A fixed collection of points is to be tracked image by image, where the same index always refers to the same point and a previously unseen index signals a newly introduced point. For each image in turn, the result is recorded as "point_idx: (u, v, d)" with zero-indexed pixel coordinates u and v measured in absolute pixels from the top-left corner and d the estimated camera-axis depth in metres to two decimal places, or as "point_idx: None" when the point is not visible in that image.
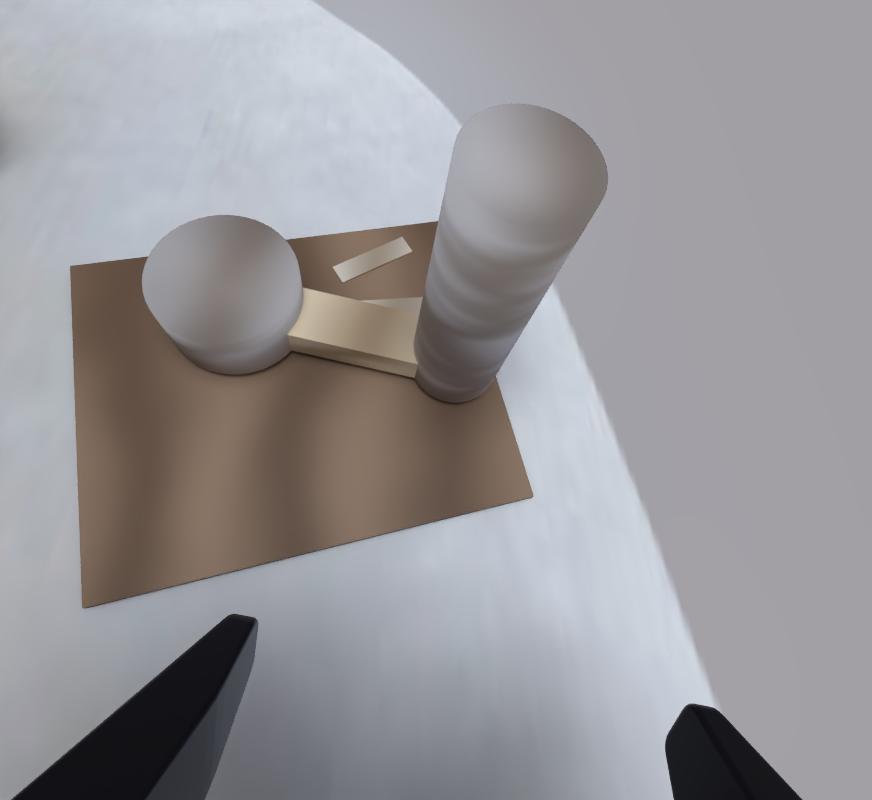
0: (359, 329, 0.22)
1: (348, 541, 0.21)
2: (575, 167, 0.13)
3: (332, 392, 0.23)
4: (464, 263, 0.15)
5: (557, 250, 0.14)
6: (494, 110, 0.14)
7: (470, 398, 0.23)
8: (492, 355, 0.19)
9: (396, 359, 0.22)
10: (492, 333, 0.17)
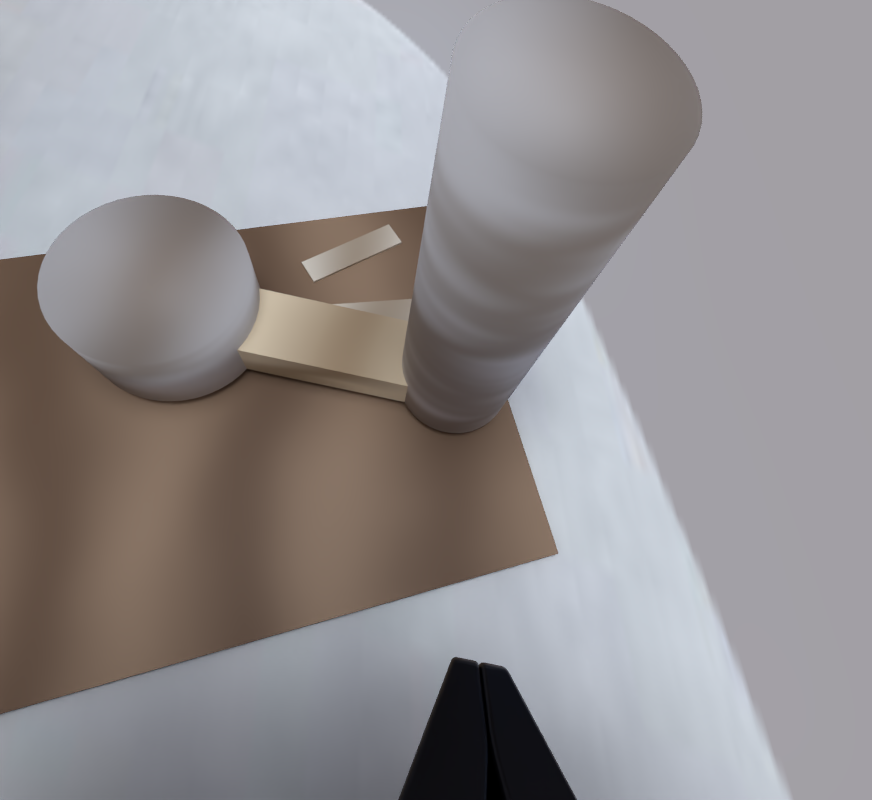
0: (332, 341, 0.17)
1: (318, 621, 0.16)
2: (649, 89, 0.08)
3: (299, 422, 0.18)
4: (469, 249, 0.09)
5: (619, 226, 0.08)
6: (515, 3, 0.08)
7: (475, 427, 0.18)
8: (507, 378, 0.14)
9: (380, 380, 0.17)
10: (509, 351, 0.12)
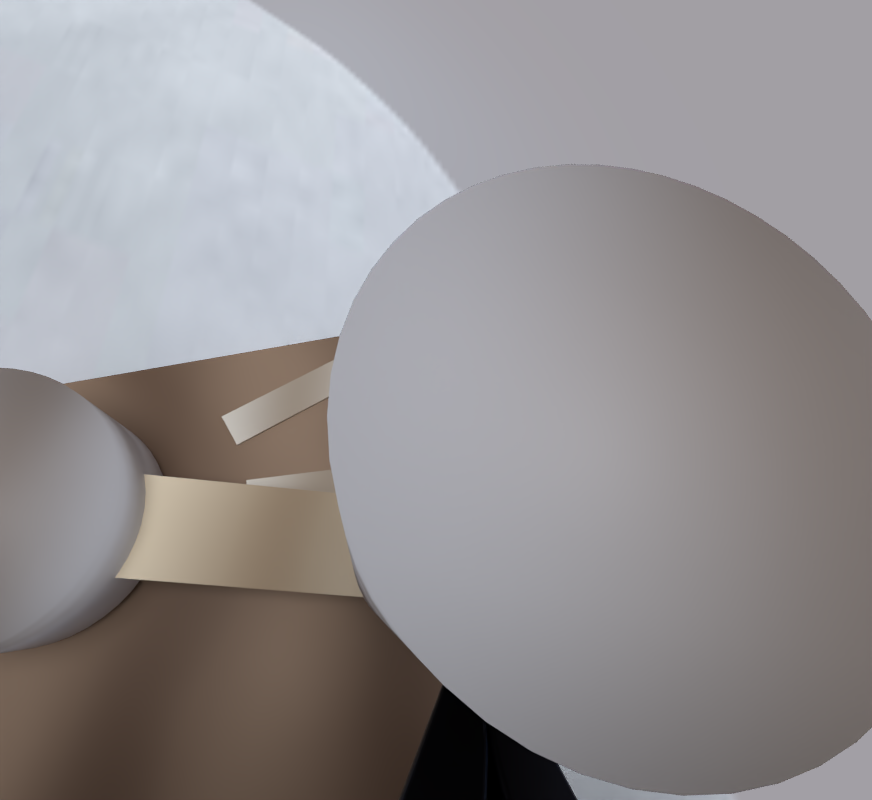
0: (253, 543, 0.12)
1: None
2: (810, 403, 0.03)
3: (205, 664, 0.13)
4: None
5: None
6: (477, 203, 0.04)
7: None
8: None
9: (323, 593, 0.12)
10: None
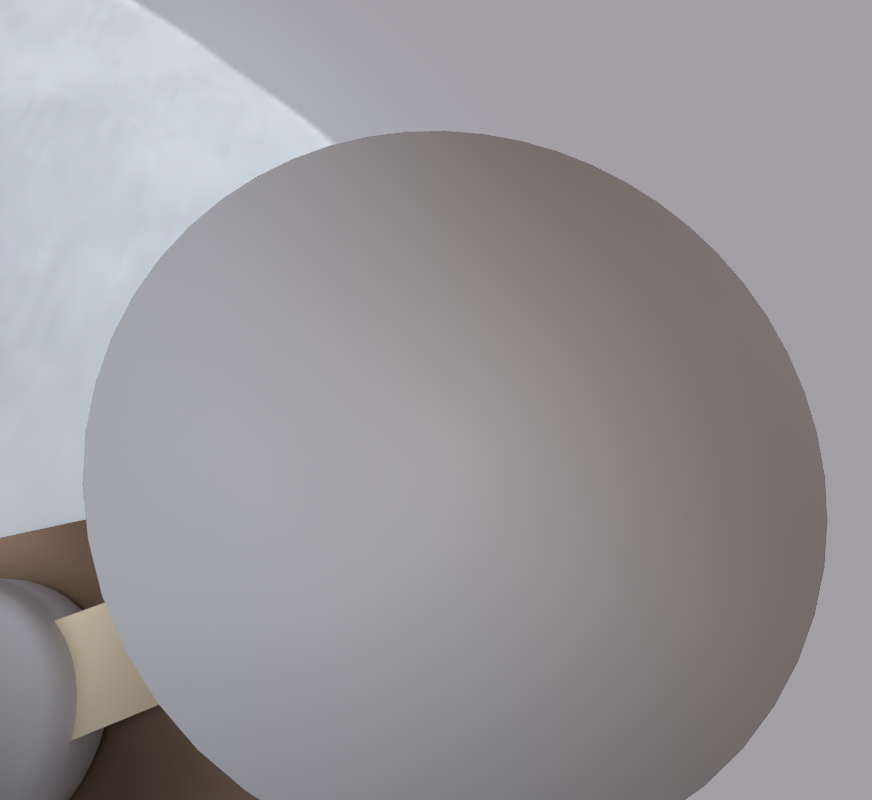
0: None
1: None
2: (639, 325, 0.03)
3: None
4: None
5: None
6: (202, 246, 0.03)
7: None
8: None
9: None
10: None
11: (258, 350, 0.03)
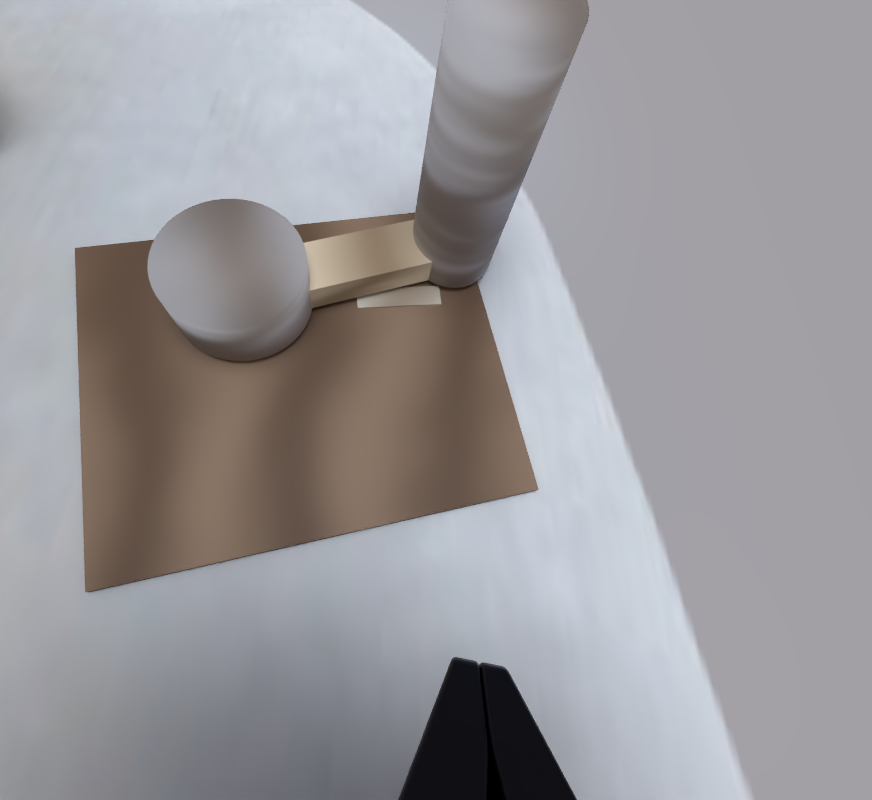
0: (366, 256, 0.23)
1: (351, 530, 0.21)
2: None
3: (337, 381, 0.23)
4: (489, 118, 0.16)
5: (567, 67, 0.15)
6: None
7: (483, 273, 0.25)
8: (506, 212, 0.21)
9: (412, 266, 0.23)
10: (512, 184, 0.19)
11: None
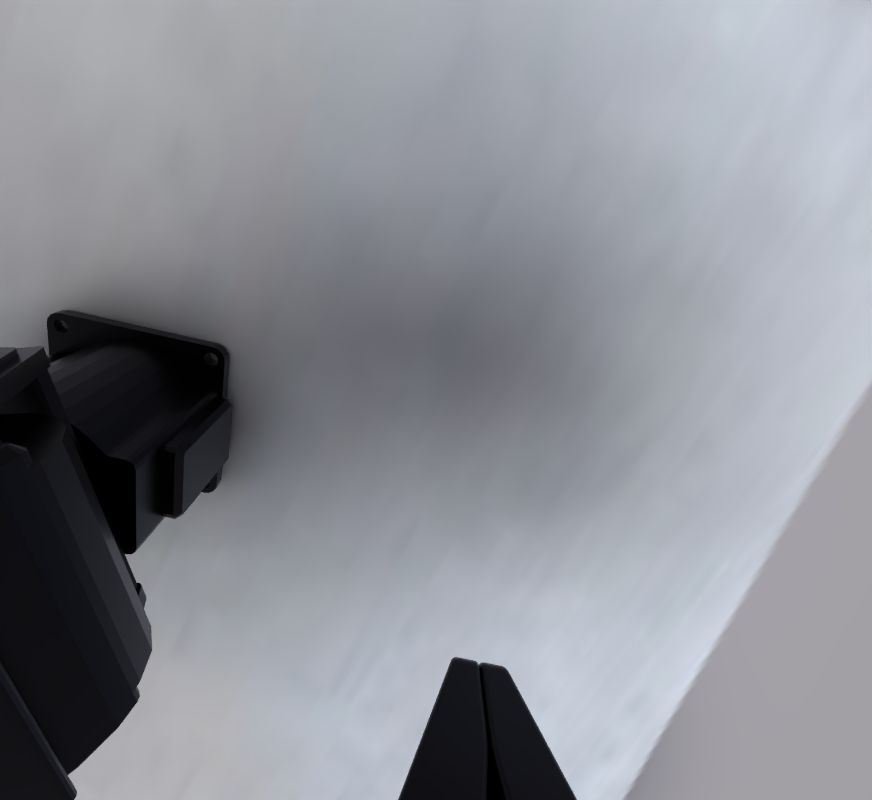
0: None
1: None
2: None
3: None
4: None
5: None
6: None
7: None
8: None
9: None
10: None
11: None
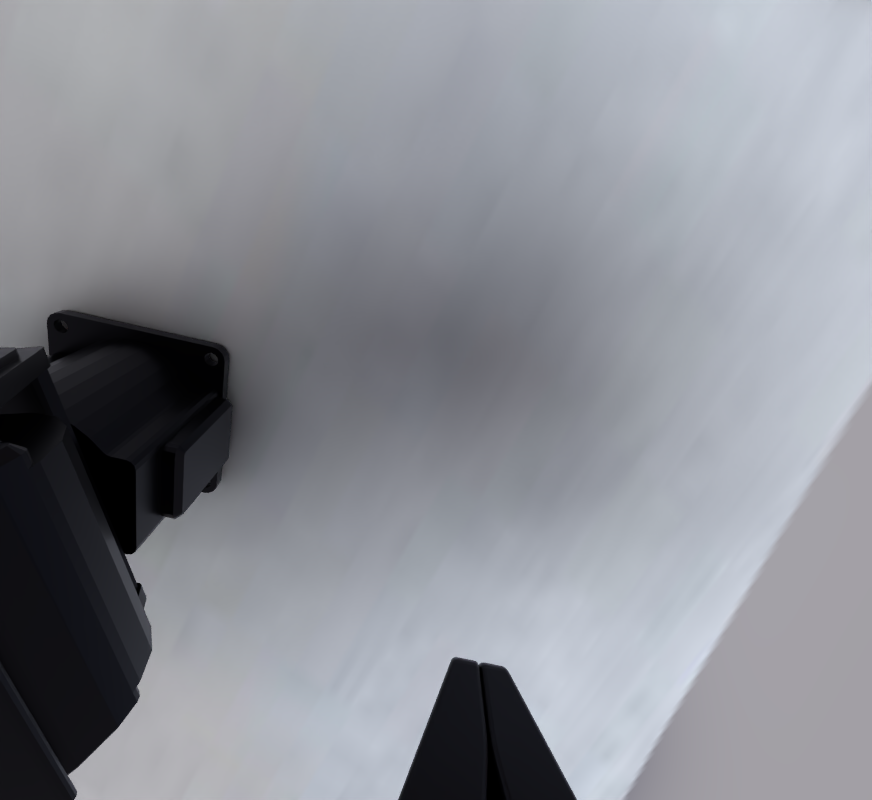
0: None
1: None
2: None
3: None
4: None
5: None
6: None
7: None
8: None
9: None
10: None
11: None
